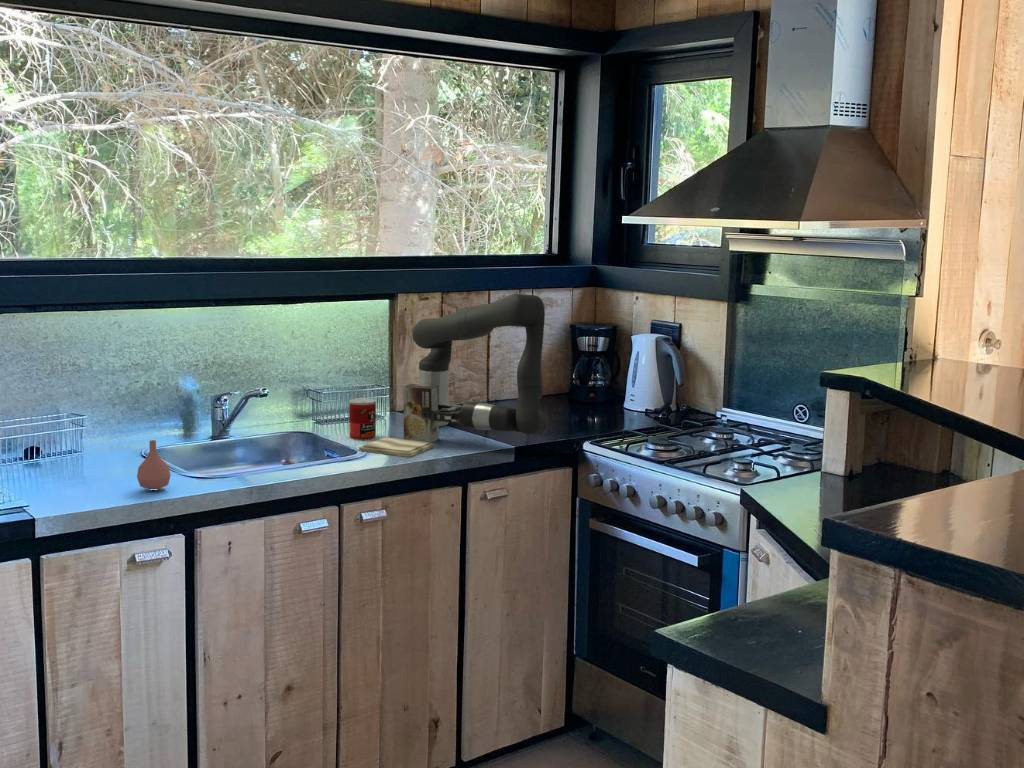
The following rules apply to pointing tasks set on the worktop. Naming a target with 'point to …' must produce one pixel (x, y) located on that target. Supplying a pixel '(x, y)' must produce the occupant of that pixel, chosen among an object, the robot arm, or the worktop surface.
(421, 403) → the coffee box
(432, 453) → the worktop surface
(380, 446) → the folded beige cloth
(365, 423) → the canned food
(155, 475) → the terracotta vase
